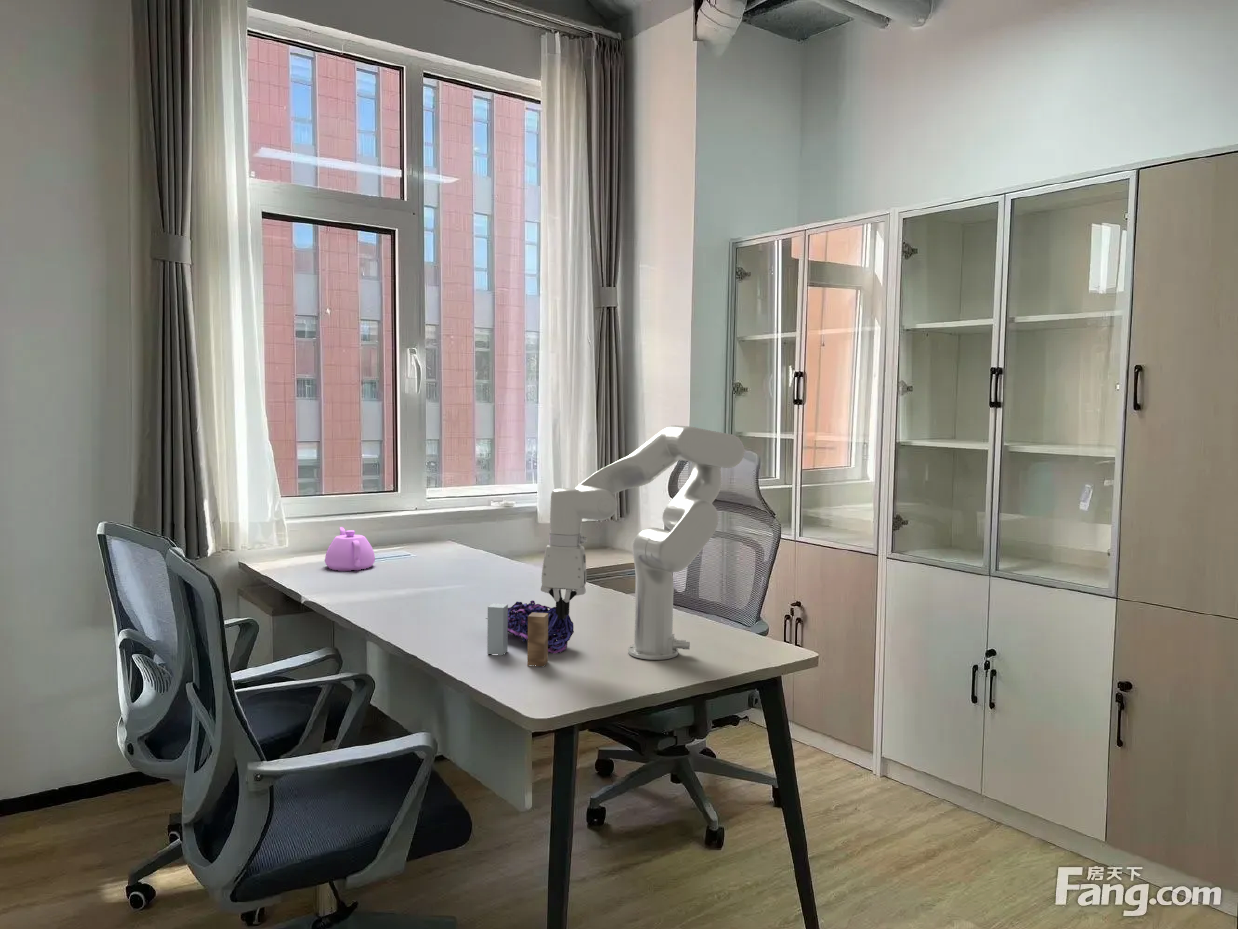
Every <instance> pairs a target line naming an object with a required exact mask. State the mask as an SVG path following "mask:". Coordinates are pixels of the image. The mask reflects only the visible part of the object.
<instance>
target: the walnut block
mask: <svg viewBox="0 0 1238 929" xmlns="http://www.w3.org/2000/svg"><path fill="white" fill-rule="evenodd" d="M548 657H549V652H548V613H535V612H532V613H531V614H530V615H529V616H528V640H527V657H526V658H527V665H534V666H533V667H535V665H536V666H544V665H545V666H546V665H547V664H548V661H549V658H548ZM545 666H544V667H545Z"/></svg>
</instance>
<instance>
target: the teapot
mask: <svg viewBox="0 0 1238 929" xmlns="http://www.w3.org/2000/svg"><path fill="white" fill-rule="evenodd" d="M375 561H376V556H375V551H374V548H373V546H372V544H371V543H370V542H369V540H368V538H367V537H366V536H364V535H362V534H356V530H354V529H351V530H346V529H345V528H344V526H339V535H336V536H335V537H334V538H333V540H332V541H331V543H330V544H329V546H328V548H327V549H326V552H325V556H324V563H325V565H326V566H327V567H328V568H329V569H330V570H331V569H332V571H336V570H338V571H339V572H352V571H351V570H357V571H362V570H361V569H364V570H367V569H366V568H368V569H370V568H371V567H372V566H373V565H374V563H375ZM369 567H370V568H369ZM338 571H337V572H338Z"/></svg>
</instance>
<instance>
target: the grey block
mask: <svg viewBox="0 0 1238 929" xmlns="http://www.w3.org/2000/svg"><path fill="white" fill-rule="evenodd" d="M508 608H509V604H506V603H491V604H490V605H489V606H487V618H488V619H487V636H486V639H487V642H486V643H487V645H486V648H487V649H486V650H487V652H486V654H498V655H503V654H504V653H506V652H507V651H508V650H509V649H508V645H509V644H508V642H509V639H508V636H509V633H508ZM507 653H508V652H507ZM507 653H506V654H507ZM504 655H505V654H504ZM504 655H503V656H504Z"/></svg>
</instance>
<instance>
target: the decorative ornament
mask: <svg viewBox="0 0 1238 929" xmlns="http://www.w3.org/2000/svg"><path fill="white" fill-rule="evenodd" d="M532 612H535V613H548V653H551V654H553V653H554V654H561V653H562V652H565V650H566V649H567V648H568V642H569V641H570V640H571V637H572V636H573V634H574V633H575V632H574V622H573V621H572V619H571V616H570V614H569V615H567V617H566V618H565V619H562V618H560V619H558V614H556V606H553V607H550V606H547V605H542V604H540V603H537V604H536V602H535V600H531V601H530V602H529V603H523V602H522V601H516V602H515V603H514V604H513V605H512V606H510V607H508V634H510V635H512V636H513V637H516V638H521V640H522V643H523V642H527V641H528V616H529V615H530V614H531V613H532ZM485 619H486V620H488V617H485ZM560 652H561V653H560Z"/></svg>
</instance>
